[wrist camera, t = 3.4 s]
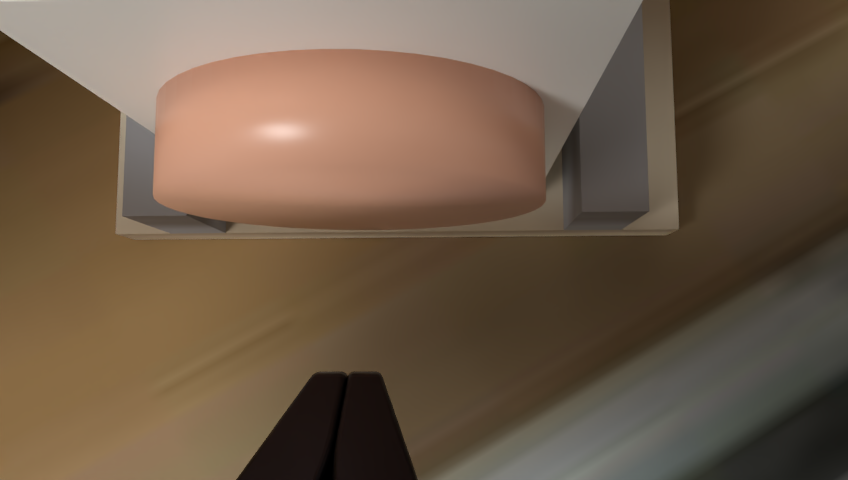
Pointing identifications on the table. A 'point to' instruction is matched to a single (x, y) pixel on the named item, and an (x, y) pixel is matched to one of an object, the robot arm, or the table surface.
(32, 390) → the table surface
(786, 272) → the table surface
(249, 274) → the table surface
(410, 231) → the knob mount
